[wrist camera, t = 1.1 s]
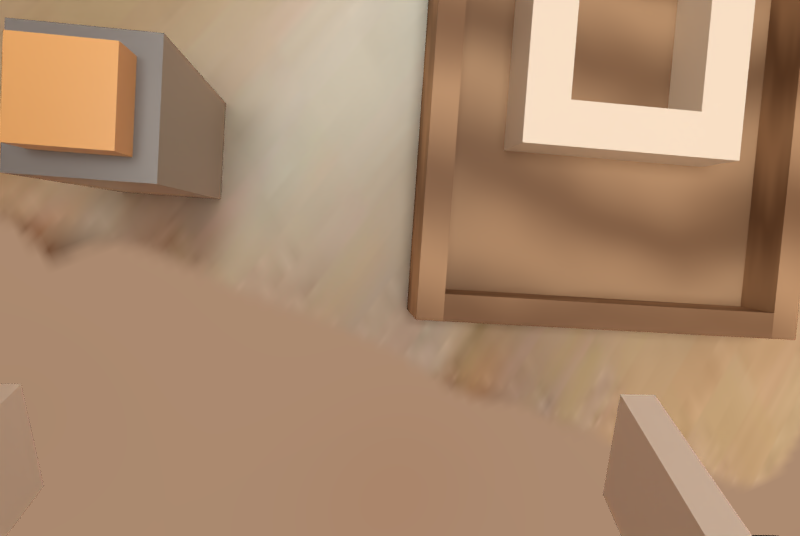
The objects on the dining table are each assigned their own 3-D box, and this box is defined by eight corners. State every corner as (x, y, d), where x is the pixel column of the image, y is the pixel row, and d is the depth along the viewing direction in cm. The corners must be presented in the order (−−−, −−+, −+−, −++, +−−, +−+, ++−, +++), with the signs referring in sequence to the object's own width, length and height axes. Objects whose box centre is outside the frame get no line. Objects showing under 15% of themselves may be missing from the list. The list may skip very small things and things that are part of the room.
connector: (126, 94, 30) (-26, -3, 17) (225, 103, 30) (148, 16, 18) (122, 191, 30) (-31, 167, 17) (220, 199, 30) (141, 180, 18)
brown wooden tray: (445, -240, 30) (459, -301, 27) (800, -187, 32) (856, -238, 28) (407, 309, 32) (416, 319, 28) (747, 328, 33) (795, 339, 30)
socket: (520, -65, 30) (541, -97, 27) (721, -41, 31) (762, -69, 28) (504, 150, 30) (522, 142, 28) (701, 166, 32) (739, 160, 29)
